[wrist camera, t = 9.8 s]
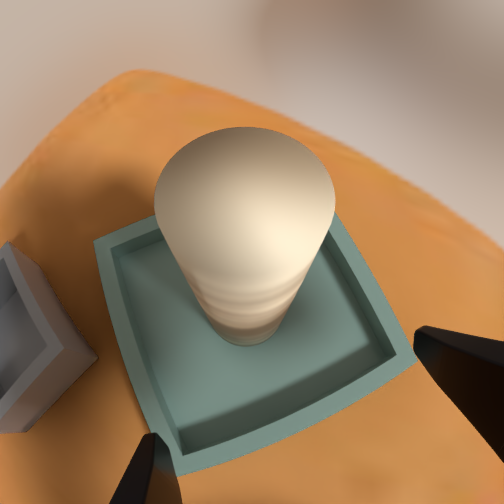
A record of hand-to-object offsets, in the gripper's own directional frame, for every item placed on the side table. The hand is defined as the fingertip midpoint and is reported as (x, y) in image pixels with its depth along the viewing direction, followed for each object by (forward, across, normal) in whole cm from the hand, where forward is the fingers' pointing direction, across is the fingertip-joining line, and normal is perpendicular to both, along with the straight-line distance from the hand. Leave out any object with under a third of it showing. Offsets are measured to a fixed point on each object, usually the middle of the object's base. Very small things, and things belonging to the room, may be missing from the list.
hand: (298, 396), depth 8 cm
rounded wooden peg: (+8, 0, +1) cm, 8 cm away
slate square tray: (+10, +15, 0) cm, 18 cm away
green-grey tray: (+9, 0, +2) cm, 9 cm away
